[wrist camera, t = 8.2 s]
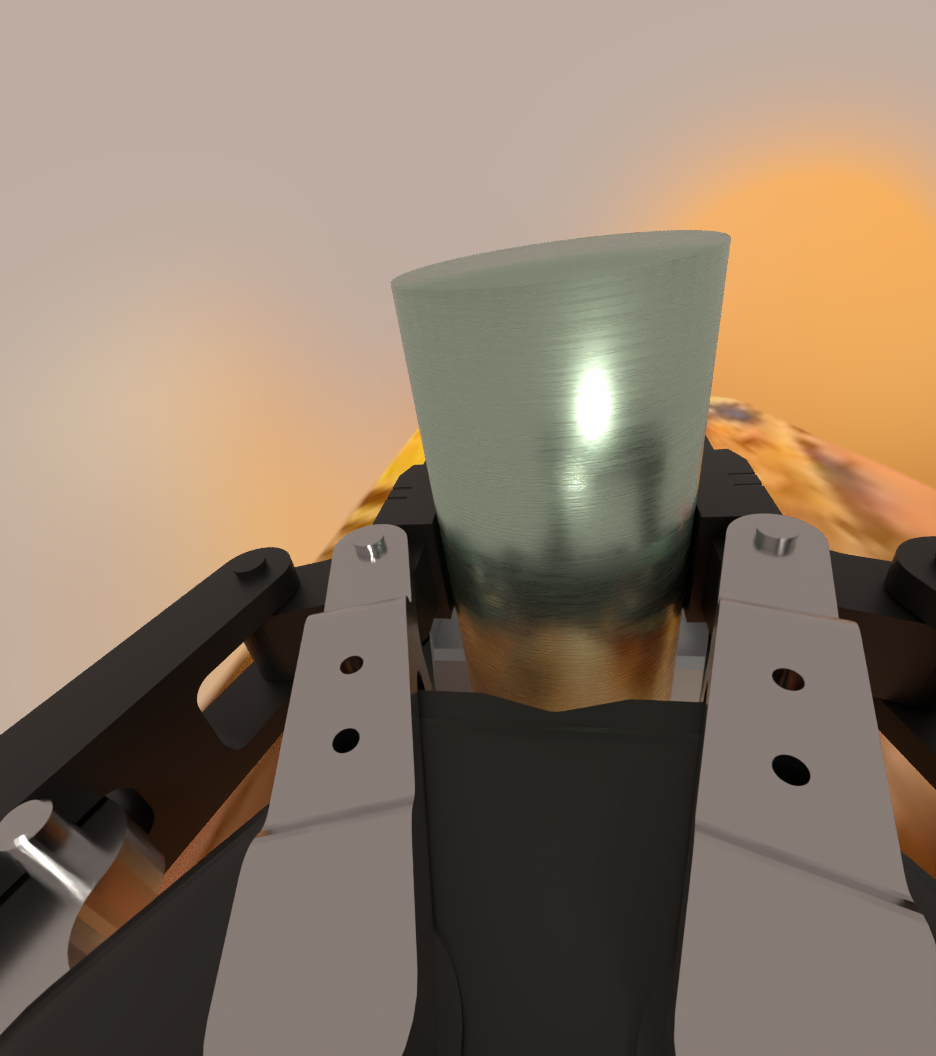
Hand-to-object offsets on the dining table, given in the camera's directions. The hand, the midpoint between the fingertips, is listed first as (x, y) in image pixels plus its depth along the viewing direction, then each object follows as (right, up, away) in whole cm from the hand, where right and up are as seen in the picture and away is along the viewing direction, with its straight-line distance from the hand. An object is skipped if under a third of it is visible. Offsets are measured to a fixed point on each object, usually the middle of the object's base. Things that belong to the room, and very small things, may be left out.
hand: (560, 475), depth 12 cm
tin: (+1, -8, +2) cm, 8 cm away
